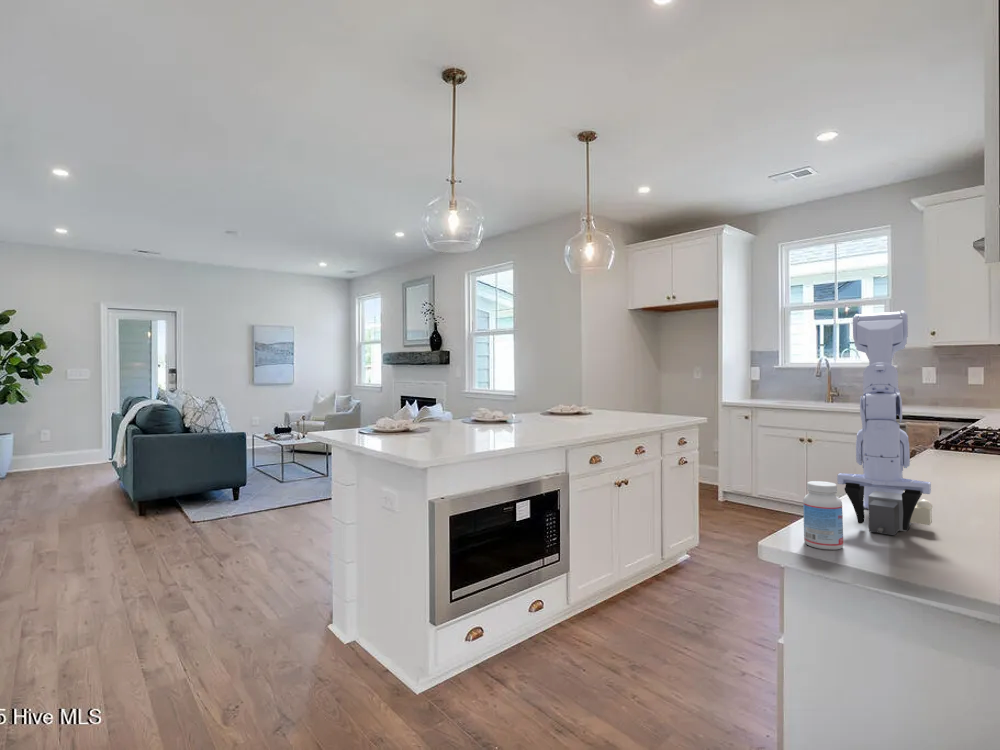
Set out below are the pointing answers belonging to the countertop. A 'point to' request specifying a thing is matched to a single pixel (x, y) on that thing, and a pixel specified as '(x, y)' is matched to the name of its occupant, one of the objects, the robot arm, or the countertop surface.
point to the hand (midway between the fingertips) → (883, 525)
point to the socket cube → (891, 498)
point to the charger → (884, 517)
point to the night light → (922, 513)
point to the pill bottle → (823, 516)
